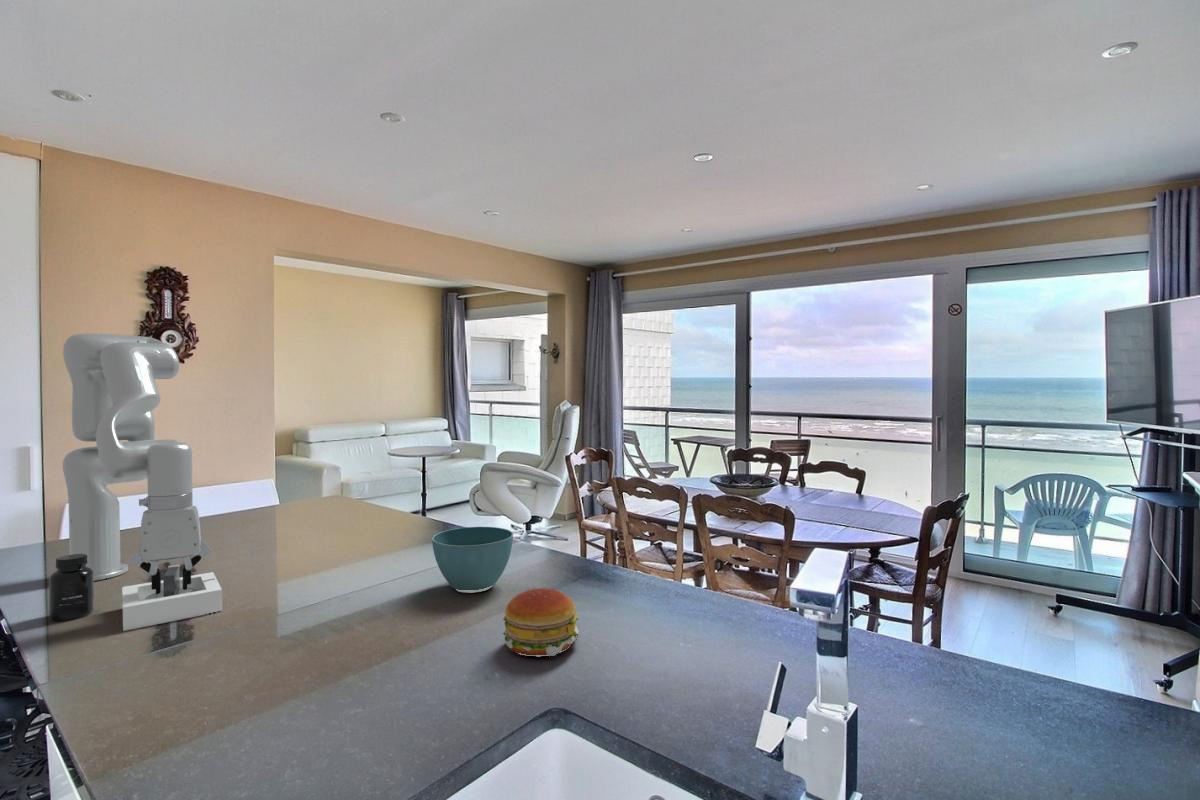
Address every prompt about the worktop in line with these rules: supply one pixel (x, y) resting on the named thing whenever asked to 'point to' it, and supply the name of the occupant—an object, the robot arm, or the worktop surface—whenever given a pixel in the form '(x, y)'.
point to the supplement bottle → (71, 588)
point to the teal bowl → (472, 555)
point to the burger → (540, 622)
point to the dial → (171, 584)
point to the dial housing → (170, 602)
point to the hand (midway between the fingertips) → (171, 589)
